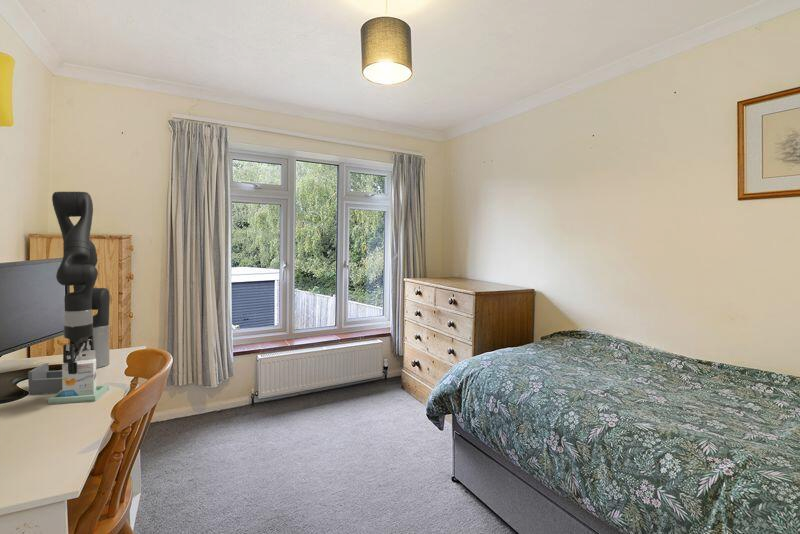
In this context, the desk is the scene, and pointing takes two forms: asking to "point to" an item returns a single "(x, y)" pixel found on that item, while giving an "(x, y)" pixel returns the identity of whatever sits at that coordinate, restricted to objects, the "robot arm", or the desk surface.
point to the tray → (72, 399)
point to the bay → (44, 380)
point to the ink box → (80, 376)
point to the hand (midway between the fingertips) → (79, 369)
